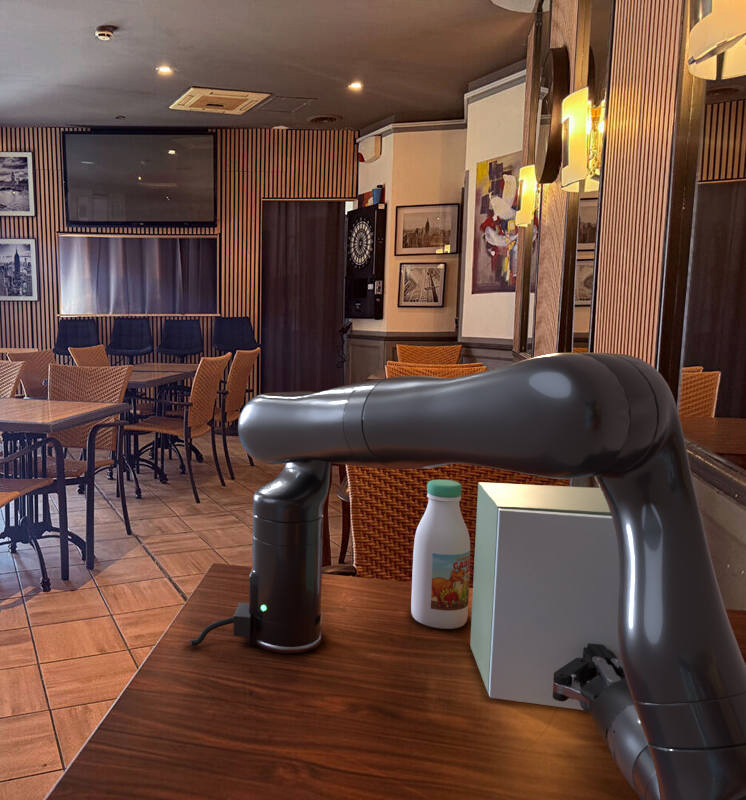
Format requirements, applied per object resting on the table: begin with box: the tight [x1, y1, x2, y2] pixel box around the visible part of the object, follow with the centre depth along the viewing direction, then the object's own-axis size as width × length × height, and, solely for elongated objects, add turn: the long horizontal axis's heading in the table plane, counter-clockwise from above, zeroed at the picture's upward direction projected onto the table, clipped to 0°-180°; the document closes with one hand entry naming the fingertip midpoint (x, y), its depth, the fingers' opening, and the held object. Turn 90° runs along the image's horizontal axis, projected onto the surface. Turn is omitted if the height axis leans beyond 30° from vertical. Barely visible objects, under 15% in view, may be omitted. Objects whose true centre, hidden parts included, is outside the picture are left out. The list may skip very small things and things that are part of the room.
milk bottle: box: [410, 479, 471, 630], centre depth 98 cm, size 8×8×20 cm
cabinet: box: [469, 481, 611, 694], centre depth 82 cm, size 12×16×22 cm
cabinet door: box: [488, 508, 621, 711], centre depth 73 cm, size 6×16×22 cm, turn 75°
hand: (594, 652), depth 75 cm, fingers closed
